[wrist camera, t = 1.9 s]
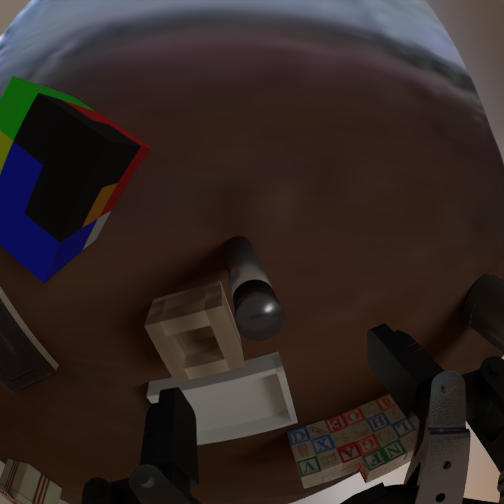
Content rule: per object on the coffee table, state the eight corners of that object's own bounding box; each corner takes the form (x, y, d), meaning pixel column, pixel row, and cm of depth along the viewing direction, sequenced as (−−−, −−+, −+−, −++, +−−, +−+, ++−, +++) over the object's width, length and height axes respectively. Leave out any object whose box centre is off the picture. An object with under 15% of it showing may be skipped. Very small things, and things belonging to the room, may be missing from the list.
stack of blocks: (290, 446, 39) (307, 504, 27) (285, 430, 36) (305, 494, 25) (399, 405, 40) (430, 450, 28) (405, 384, 38) (441, 432, 26)
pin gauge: (248, 232, 25) (279, 293, 14) (255, 258, 26) (288, 332, 15) (221, 240, 25) (230, 307, 14) (229, 266, 26) (243, 345, 15)
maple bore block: (220, 279, 27) (222, 305, 22) (239, 336, 29) (245, 366, 24) (153, 298, 26) (144, 325, 22) (179, 351, 29) (175, 382, 24)
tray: (277, 351, 30) (282, 366, 28) (293, 409, 34) (297, 422, 32) (149, 381, 29) (146, 396, 27) (187, 432, 34) (186, 446, 31)
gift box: (17, 454, 35) (2, 498, 19) (65, 487, 42) (57, 530, 26) (-3, 451, 35) (-16, 489, 19) (39, 483, 42) (31, 520, 26)
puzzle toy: (96, 239, 23) (44, 283, 14) (28, 186, 20) (-37, 205, 11) (150, 147, 22) (111, 141, 12) (74, 97, 19) (13, 76, 9)
